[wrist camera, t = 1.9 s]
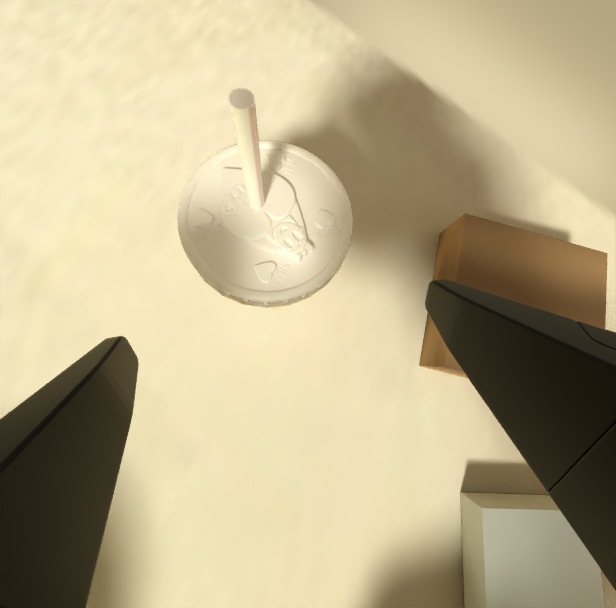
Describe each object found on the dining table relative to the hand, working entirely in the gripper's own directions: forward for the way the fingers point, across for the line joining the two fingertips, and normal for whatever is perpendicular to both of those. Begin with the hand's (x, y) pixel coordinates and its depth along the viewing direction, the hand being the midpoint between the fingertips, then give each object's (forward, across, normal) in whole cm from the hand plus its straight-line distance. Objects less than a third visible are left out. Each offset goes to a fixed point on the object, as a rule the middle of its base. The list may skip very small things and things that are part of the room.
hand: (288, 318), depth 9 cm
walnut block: (+7, -15, +8) cm, 19 cm away
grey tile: (-4, -12, +19) cm, 23 cm away
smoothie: (+10, 0, +5) cm, 12 cm away
